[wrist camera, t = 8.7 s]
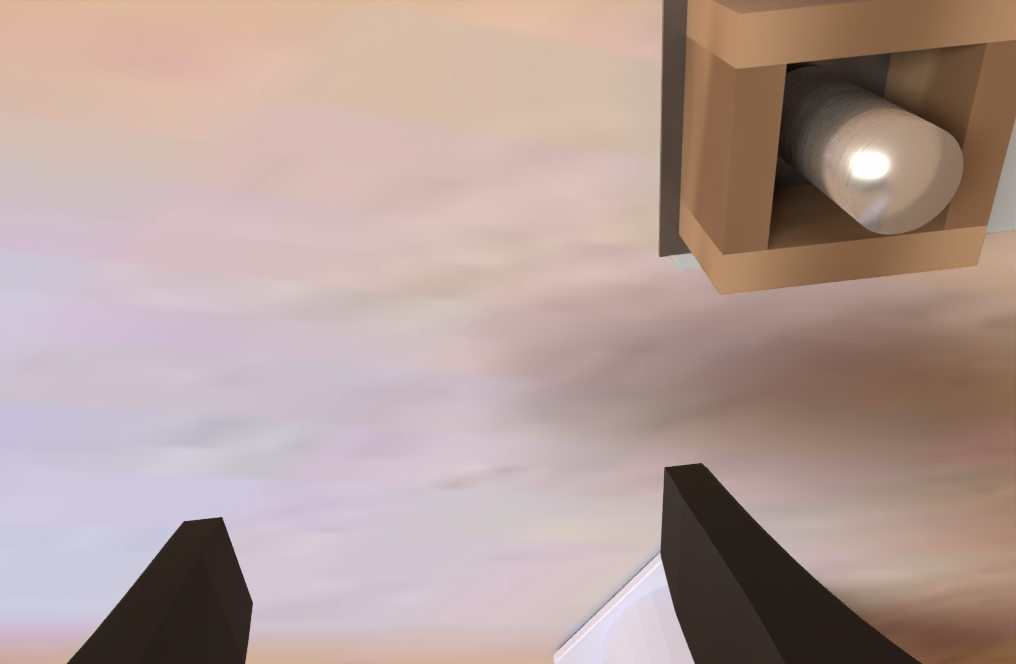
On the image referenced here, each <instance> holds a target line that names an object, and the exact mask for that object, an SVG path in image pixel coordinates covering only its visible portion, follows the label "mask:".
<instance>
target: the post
mask: <svg viewBox="0 0 1016 664" xmlns="http://www.w3.org/2000/svg"><path fill="white" fill-rule="evenodd" d="M687 7H688V0H663V16H662V78H661V140H660V203H659V257H663V256H672V255H680V254H689V253H691V251H690V250H689V248H688V247H687V245H686V244H685V242H684V241H683V239H682V238H681V236H680V235H679V218H680V192H681V165H682V139H683V112H684V86H685V59H686V33H687ZM890 56H891V53H884V54H875V55H865V56H855V57H846V58H836V59H826V60H817V61H807V62H798V63H788V64H787V66H786V76H785V86H784V95H783V105H782V115H781V124H780V134H779V144H778V153H777V163H776V172H775V182H774V188H780V187H789V186H799V185H808V184H813V185H815V186H816V187H817V188H818V189H819V190H821V191H822V192H823V193H824V194H825V195H827V196H828V197H829V198H830V199H831V200H833V201H834V202H835V203H836V204H837V205H839V206H840V207H841V208H842V209H843V210H845V211H846V212H847V213H848V214H849V215H851V216H852V217H853V218H854V219H855V220H857V221H858V222H859V223H860V224H861V225H863V226H864V227H865V228H867V229H869V230H870V231H873V232H875V233H879V234H886V235H893V234H901V233H905V232H909V231H912V230H914V229H917V228H919V227H921V226H923V225H924V224H926V223H928V222H929V221H931V220H932V219H933V218H934V217H936V216H937V215H938V214H939V213H940V212H941V211H942V210H943V209H944V208H945V207H946V206H947V205H948V203H949V202H950V200H951V199H952V198H953V196H954V194H955V192H956V191H957V189H958V186H959V184H960V181H961V178H962V173H963V155H962V151H961V148H960V146H959V144H958V142H957V141H956V140H955V138H954V137H953V136H952V135H951V134H950V133H948V132H947V131H945V130H943V129H941V128H939V127H937V126H935V125H934V124H932V123H930V122H928V121H926V120H924V119H922V118H920V117H918V116H916V115H914V114H912V113H910V112H908V111H906V110H904V109H903V108H901V107H899V106H897V105H895V104H893V103H891V102H889V101H887V100H885V99H883V97H884V92H885V86H886V80H887V74H888V68H889V62H890Z"/></svg>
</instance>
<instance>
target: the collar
mask: <svg viewBox="0 0 1016 664" xmlns="http://www.w3.org/2000/svg"><path fill="white" fill-rule="evenodd" d="M884 53H891V56H890V62H889V68H888V74H887V80H886V86H885V92H884V97H883V99H885V100H887V101H889V102H891V103H893V104H895V105H897V106H899V107H901V108H903V109H904V110H906V111H908V112H910V113H912V114H914V115H916V116H918V117H920V118H922V119H924V120H926V121H928V122H930V123H932V124H934V125H935V126H937V127H939V128H941V129H943V130H945V131H947V132H948V133H950V134H951V135H952V136H953V137H954V138H955V140H956V141H957V142H958V144H959V146H960V148H961V151H962V155H963V173H962V178H961V181H960V184H959V186H958V189H957V191H956V192H955V194H954V196H953V198H952V199H951V200H950V202H949V203H948V205H947V206H946V207H945V208H944V209H943V210H942V211H941V212H940V213H939V214H938V215H937V216H936V217H934V218H933V219H932V220H931V221H929V222H928V223H926V224H924V225H923V226H921V227H919V228H917V229H914V230H912V231H909V232H905V233H901V234H893V235H886V234H879V233H875V232H873V231H870V230H869V229H867V228H865V227H864V226H863V225H861V224H860V223H859V222H858V221H857V220H855V219H854V218H853V217H852V216H851V215H849V214H848V213H847V212H846V211H845V210H843V209H842V208H841V207H840V206H839V205H837V204H836V203H835V202H834V201H833V200H831V199H830V198H829V197H828V196H827V195H825V194H824V193H823V192H822V191H821V190H819V189H818V188H817V187H816V186H815V185H813V184H808V185H799V186H789V187H780V188H774V182H775V172H776V163H777V153H778V144H779V134H780V124H781V115H782V105H783V95H784V86H785V76H786V66H787V64H788V63H798V62H807V61H817V60H826V59H836V58H846V57H855V56H865V55H875V54H884ZM1015 119H1016V0H688V7H687V33H686V59H685V86H684V112H683V139H682V165H681V192H680V218H679V235H680V236H681V238H682V239H683V241H684V242H685V244H686V245H687V247H688V248H689V250H690V251H691V253H692V254H693V256H694V257H695V258H696V260H697V261H698V263H699V264H700V266H701V267H702V269H703V270H704V272H705V273H706V275H707V276H708V278H709V279H710V281H711V282H712V284H713V285H714V287H715V288H716V289H717V291H718V292H719V294H720V295H723V294H732V293H740V292H749V291H758V290H767V289H775V288H784V287H793V286H802V285H811V284H819V283H828V282H837V281H846V280H855V279H863V278H872V277H881V276H890V275H898V274H907V273H916V272H925V271H934V270H942V269H951V268H960V267H969V266H977V264H978V260H979V256H980V252H981V248H982V245H983V241H984V237H985V233H986V229H987V226H988V222H989V218H990V214H991V210H992V206H993V203H994V199H995V195H996V191H997V187H998V183H999V180H1000V176H1001V172H1002V168H1003V164H1004V161H1005V157H1006V153H1007V149H1008V145H1009V141H1010V138H1011V134H1012V130H1013V126H1014V122H1015Z"/></svg>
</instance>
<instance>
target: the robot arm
mask: <svg viewBox="0 0 1016 664" xmlns="http://www.w3.org/2000/svg"><path fill="white" fill-rule="evenodd" d="M252 606H253V602H252V599H251V597H250V594H249V591H248V588H247V585H246V583H245V580H244V577H243V574H242V571H241V569H240V566H239V563H238V560H237V557H236V555H235V552H234V549H233V546H232V543H231V541H230V538H229V535H228V532H227V529H226V527H225V524H224V521H223V518H222V517H219V518H210V519H201V520H193V521H184V522H183V523H182V524H181V526H180V527H179V528H178V529H177V530H176V532H175V533H174V534H173V535H172V537H171V538H170V539H169V540H168V541H167V543H166V544H165V545H164V547H163V548H162V549H161V550H160V552H159V553H158V554H157V555H156V557H155V558H154V559H153V560H152V562H151V563H150V564H149V566H148V567H147V568H146V569H145V571H144V572H143V573H142V574H141V576H140V577H139V578H138V579H137V581H136V582H135V583H134V584H133V586H132V587H131V588H130V589H129V591H128V592H127V593H126V594H125V596H124V597H123V598H122V599H121V601H120V602H119V603H118V604H117V605H116V607H115V608H114V609H113V610H112V611H111V613H110V614H109V615H108V616H107V618H106V619H105V620H104V621H103V622H102V624H101V625H100V626H99V627H98V628H97V630H96V631H95V632H94V633H93V634H92V636H91V637H90V638H89V639H88V640H87V641H86V643H85V644H84V645H83V646H82V647H81V648H80V649H79V651H78V652H77V653H76V654H75V655H74V656H73V657H72V658H71V659H70V661H69V662H68V663H67V664H245V661H246V654H247V647H248V640H249V631H250V623H251V614H252ZM553 661H554V664H921V663H920V662H919V661H917V660H916V659H915V658H913V657H912V656H910V655H909V654H908V653H906V652H905V651H903V650H902V649H901V648H899V647H898V646H897V645H895V644H894V643H893V642H891V641H890V640H889V639H887V638H886V637H885V636H883V635H882V634H881V633H880V632H878V631H877V630H876V629H874V628H873V627H872V626H870V625H869V624H868V623H867V622H865V621H864V620H863V619H862V618H860V617H859V616H858V615H857V614H856V613H854V612H853V611H852V610H851V609H850V608H848V607H847V606H846V605H845V604H844V603H842V602H841V601H840V600H839V599H838V598H837V597H835V596H834V595H833V594H832V593H831V592H830V591H829V590H827V589H826V588H825V587H824V586H823V585H822V584H821V583H819V582H818V581H817V580H816V579H815V578H814V577H813V576H812V575H811V574H809V573H808V572H807V571H806V570H805V569H804V568H803V567H802V566H801V565H800V564H799V563H798V562H797V561H796V560H795V559H793V558H792V557H791V556H790V555H789V554H788V553H787V552H786V551H785V550H784V549H783V548H782V547H781V546H780V545H779V544H778V543H777V542H776V541H775V540H774V539H773V538H772V537H771V536H770V535H769V534H768V533H767V532H766V531H765V530H764V529H763V528H762V527H761V526H760V525H759V524H758V523H757V522H756V521H755V520H754V519H753V518H752V517H751V516H750V514H749V513H748V512H747V511H746V510H745V509H744V508H743V507H742V506H741V505H740V504H739V503H738V502H737V501H736V500H735V498H734V497H733V496H732V495H731V494H730V493H729V492H728V491H727V490H726V489H725V487H724V486H723V485H722V484H721V483H720V482H719V481H718V480H717V479H716V477H715V476H714V475H713V474H712V473H711V472H710V471H709V469H708V468H707V467H705V466H704V465H703V464H702V463H699V464H690V465H681V466H672V467H665V470H664V491H663V512H662V533H661V552H660V553H659V554H658V555H657V556H656V557H655V558H654V559H653V560H652V561H651V562H650V563H649V564H648V565H647V566H646V567H645V568H644V569H643V570H642V571H640V572H639V573H638V574H637V575H636V576H635V577H634V578H633V579H632V580H631V581H630V582H629V583H628V584H627V585H626V586H625V587H624V588H623V589H622V590H621V591H620V592H619V593H618V594H617V595H615V596H614V597H613V598H612V599H611V600H610V601H609V602H608V603H607V604H606V605H605V606H604V607H603V608H602V609H601V610H600V611H599V612H598V613H597V614H596V615H595V616H594V617H593V618H591V619H590V620H589V621H588V622H587V623H586V624H585V625H584V626H583V627H582V628H581V629H580V630H579V631H578V632H577V633H576V634H575V635H574V636H573V637H572V638H571V639H570V640H569V641H568V642H566V643H565V644H564V645H563V646H562V647H561V648H560V649H559V650H558V651H557V652H556V653H555V655H554V656H553Z"/></svg>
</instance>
